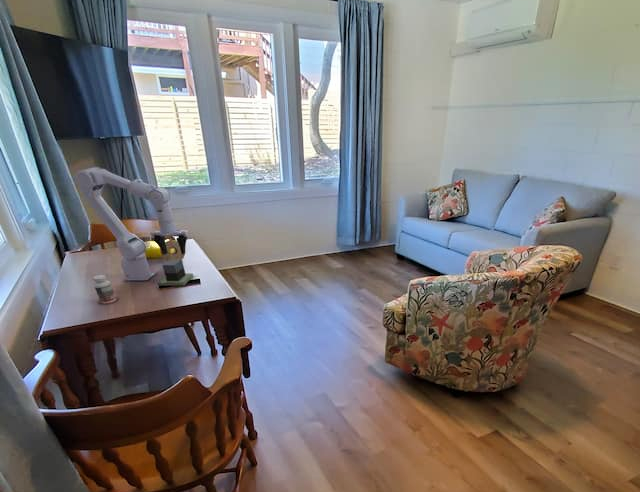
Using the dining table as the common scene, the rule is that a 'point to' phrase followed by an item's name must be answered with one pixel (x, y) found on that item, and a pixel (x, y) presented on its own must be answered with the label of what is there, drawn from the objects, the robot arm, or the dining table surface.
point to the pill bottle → (104, 289)
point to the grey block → (173, 266)
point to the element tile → (154, 250)
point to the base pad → (177, 283)
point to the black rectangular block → (175, 275)
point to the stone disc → (170, 255)
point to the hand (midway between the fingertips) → (174, 253)
